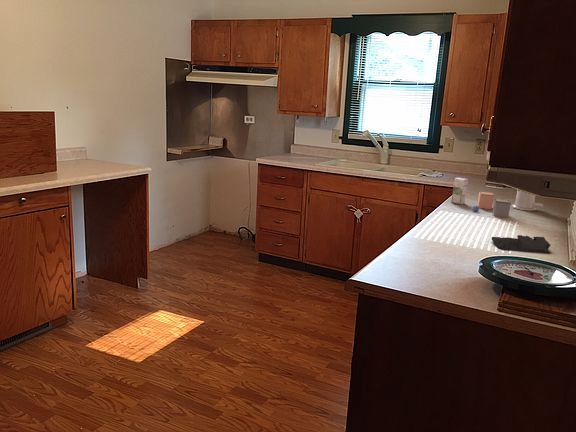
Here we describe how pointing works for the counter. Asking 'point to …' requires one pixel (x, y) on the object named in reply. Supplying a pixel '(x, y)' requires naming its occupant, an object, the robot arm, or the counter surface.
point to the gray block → (501, 208)
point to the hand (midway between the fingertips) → (490, 171)
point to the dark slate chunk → (523, 244)
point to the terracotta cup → (485, 200)
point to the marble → (475, 208)
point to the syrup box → (459, 190)
